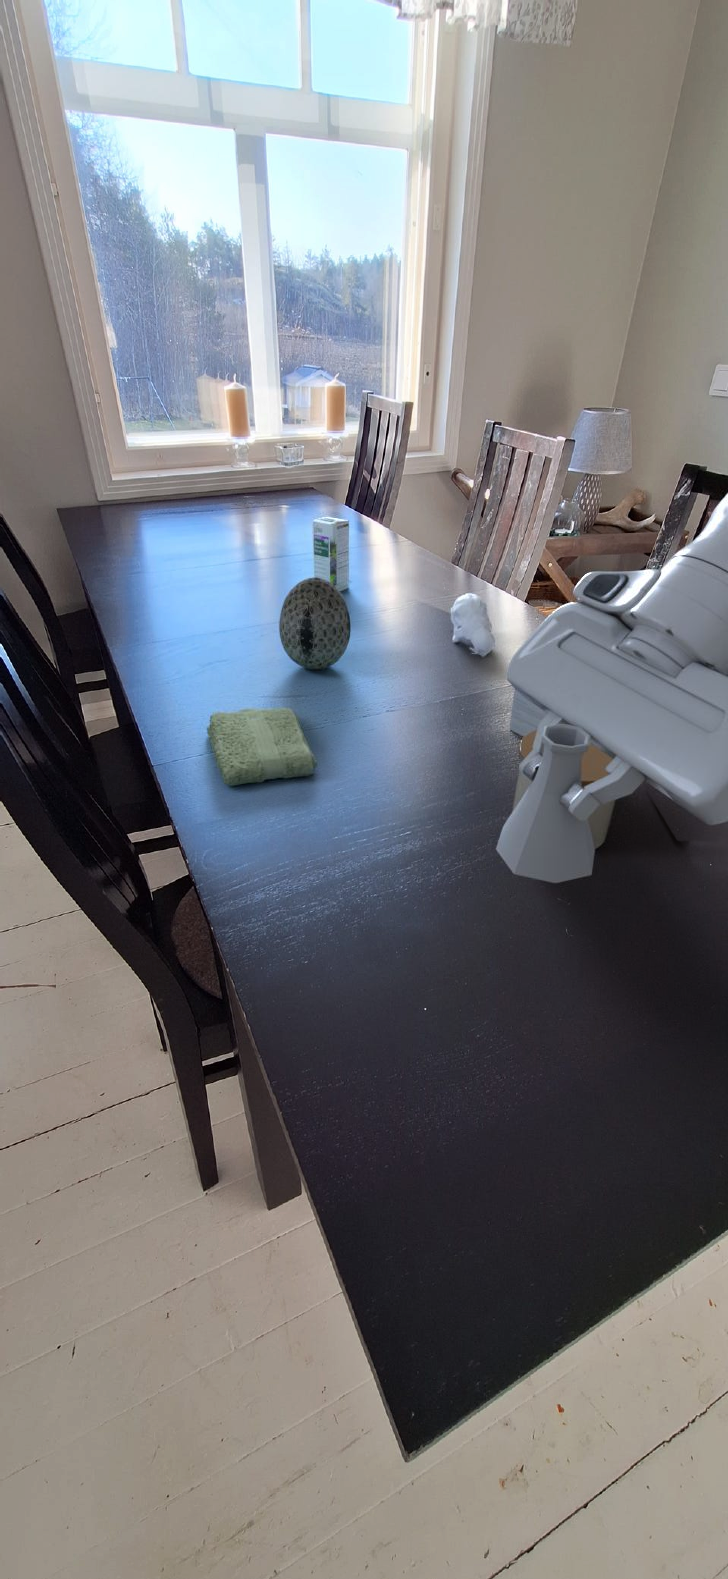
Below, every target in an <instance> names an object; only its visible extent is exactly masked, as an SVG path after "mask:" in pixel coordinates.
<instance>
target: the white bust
mask: <svg viewBox="0 0 728 1579" xmlns="http://www.w3.org/2000/svg"><path fill="white" fill-rule="evenodd" d="M450 621H451V623H452V624H453V636H452V642H453V643H455V644H456V643H457V644H458V642H460V641H461V640H462V638H464V639H465V640H466V641H469V642H470V643H471V644H472V645H473V647H469V650H470V651H472V652H471V655H473V654H474V655H479V656H481V657H482V658H485V657H486V656H487V654H489V653H490V652H492V650H493V649H494V648H495V645H496V639H495V637H494V635H493V634H492V628H493V626H492V623H491V621H490V618H489V615H488V605H487V604H486V603H485V601H484V599H483V598H481V597H480V596H479V595H477V594H475V593H469V592H468V593H466V594H463V595H461V596H458V597H457V598H456V599H455V601H454V603H453V606H452V607H451V608H450Z"/></svg>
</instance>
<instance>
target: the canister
mask: <svg viewBox="0 0 728 1579" xmlns="http://www.w3.org/2000/svg"><path fill="white" fill-rule="evenodd" d="M536 733H537V730H535V731H532V732H530V733H529V734H527V735H526V736H525V737H522V739H521V740H520V743H519V748H518V758H519V765H520V764H521V762H522V761H523V760H524V759H525V758H526V757H527V756H528V754H529V753H530V752H531V751H532V750H533V744H534V740H535V737H536ZM612 760H613V759H612V758H611V757H609V756H608V755H607V754H605V753H604V752H602V751H601V750H599V749H598V748H596V747H595V746H594V745H592V744H591V743H590V744H589V749H588V751H587V752H584V753H583V756H582V761H581V785H582V787H583V788H584V787H585V786H587V785H589V784H591V783H593V782H595V781H597V780H599V779H601V778H603V777H605V776H608V775H610V774H609V773H608V772H607V771H606V770H605V768H606V767H607V766H608V764H609V763H610V762H611V761H612ZM531 782H532V780H530V779H529V778H528V777H527V776H526V775H524V774H523V773H522V772H521V771H520V770H519V769H518V772H517V778H516V784H515V790H514V795H513V796H514V797H513V803H512V809H511V813H512V812H513V811H514V809H515V808H516V806H517V805H518V803H519V802H520V800H521V799H522V797H523V795H524V794H525V792H526V790H527V789H528V787H529V785H530V784H531ZM584 789H585V788H584ZM616 802H617V799H616V800H613V801H610V802H608V803H605V804H602V803H601V804H600V805H599V806H598V807H597V809H596V810H595V811H594V812H593V813H592V814H591V815H590V816H589V817H588V822H589V826H590V830H591V834H592V839H593V844H594V849H595V850H597V848H599V847H601V845H603V844H604V842H605V841H606V839H607V837H608V836H607V835H608V832H609V828H610V825H611V821H612V817H613V812H614V810H615V805H616Z"/></svg>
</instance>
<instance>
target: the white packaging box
mask: <svg viewBox="0 0 728 1579" xmlns="http://www.w3.org/2000/svg"><path fill="white" fill-rule="evenodd" d="M513 690H514V691H513V697H512V706H511V714H510V720H509V728H508V729H509V730H510V731H512V732H514V733H516V734H517V735H519V736H521V737H522V738H524V737H525V736H526V735H527V734H529V733H530V732H532V731H535V730H537V729H538V725H539V722H540V721H541V720H542V719H543V718H544V717H545V716H546V714H547V713H546V712H545V711H543V710H542V709H540V708H539V707H537V706H536V705H535V704H533V703H532V702H530V701H529V700H527V699H526V698H525V697H524V696H522V695H521V694H520V693H519V692H518V691H517V690H516V689H515V688H514V689H513Z"/></svg>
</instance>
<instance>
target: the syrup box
mask: <svg viewBox="0 0 728 1579" xmlns="http://www.w3.org/2000/svg"><path fill="white" fill-rule="evenodd" d="M312 550H313V552H312V555H313V556H312V557H313V577H316V578H322V579H324V580H327V581H329V582H330V583H332V584H333V585H334V586H335V587H336V588H337V589H338V590H339V592H340V593H341V592H342V591H345V590H347V589H349V587H350V581H349V580H350V519H342V518H337V517H331V516H322V517H319V518H316V519H314V520H312Z"/></svg>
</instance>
